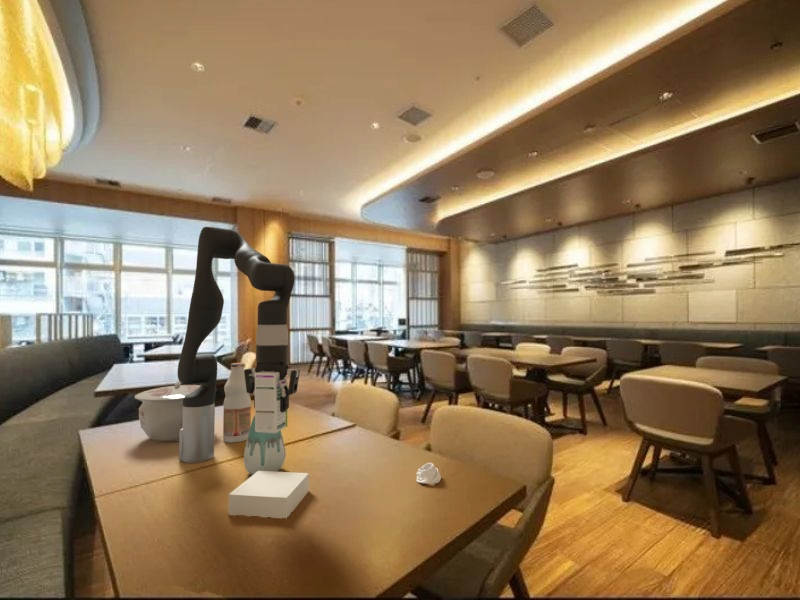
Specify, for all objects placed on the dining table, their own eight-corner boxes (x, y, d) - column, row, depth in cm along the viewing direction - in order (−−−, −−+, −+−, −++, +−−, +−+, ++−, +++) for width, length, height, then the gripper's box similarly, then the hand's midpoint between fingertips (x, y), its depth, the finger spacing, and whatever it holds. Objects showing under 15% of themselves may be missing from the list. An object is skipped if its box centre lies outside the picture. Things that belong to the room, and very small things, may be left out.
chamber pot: (157, 453, 131) (158, 391, 132) (118, 440, 145) (120, 383, 146) (232, 432, 155) (232, 379, 155) (192, 422, 169) (193, 374, 170)
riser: (228, 516, 90) (228, 494, 90) (258, 489, 104) (258, 470, 104) (286, 520, 88) (286, 497, 88) (308, 492, 102) (308, 473, 102)
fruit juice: (220, 444, 140) (221, 365, 141) (226, 436, 149) (227, 362, 150) (248, 442, 142) (249, 364, 143) (252, 434, 151) (253, 361, 152)
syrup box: (276, 433, 93) (276, 372, 94) (253, 432, 95) (254, 371, 95) (287, 427, 99) (288, 369, 100) (266, 425, 100) (267, 368, 101)
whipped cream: (436, 491, 104) (437, 473, 104) (411, 486, 106) (413, 468, 106) (442, 477, 111) (443, 461, 111) (419, 472, 114) (420, 456, 113)
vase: (245, 483, 107) (246, 417, 108) (241, 469, 117) (242, 408, 118) (289, 475, 112) (289, 412, 113) (281, 462, 123) (281, 404, 123)
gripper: (237, 343, 95) (236, 413, 95) (292, 344, 93) (292, 416, 92) (253, 341, 103) (253, 406, 102) (305, 342, 100) (305, 408, 100)
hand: (271, 410), depth 97 cm, fingers closed on syrup box, 6 cm apart
